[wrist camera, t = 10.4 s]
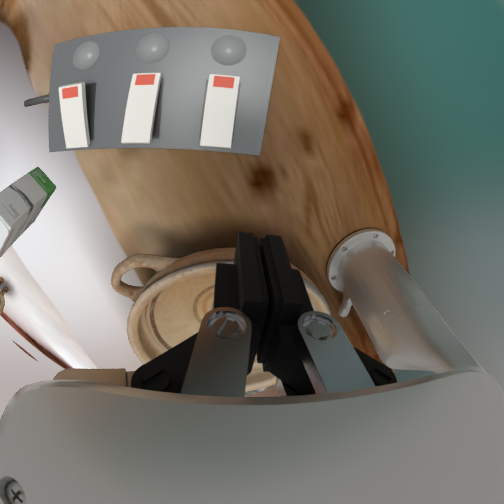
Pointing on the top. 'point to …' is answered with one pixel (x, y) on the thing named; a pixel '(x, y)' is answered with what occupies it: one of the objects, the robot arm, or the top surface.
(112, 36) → the grey switch panel
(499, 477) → the robot arm
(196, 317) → the ceramic bowl
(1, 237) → the ink box
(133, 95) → the middle rocker
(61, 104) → the block
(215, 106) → the far-end rocker
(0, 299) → the lion figurine
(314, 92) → the top surface
